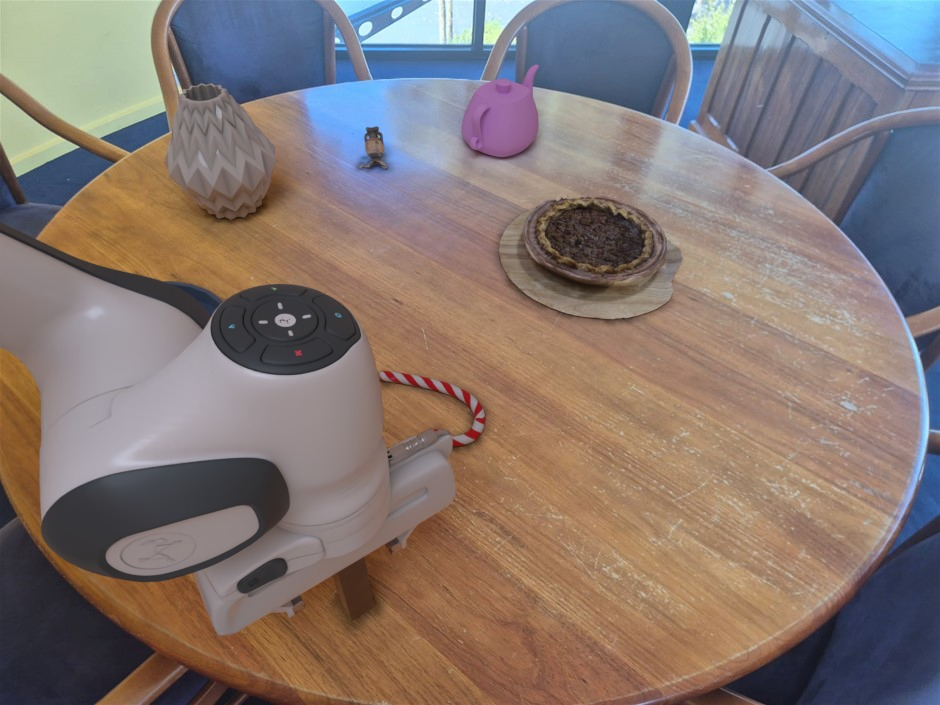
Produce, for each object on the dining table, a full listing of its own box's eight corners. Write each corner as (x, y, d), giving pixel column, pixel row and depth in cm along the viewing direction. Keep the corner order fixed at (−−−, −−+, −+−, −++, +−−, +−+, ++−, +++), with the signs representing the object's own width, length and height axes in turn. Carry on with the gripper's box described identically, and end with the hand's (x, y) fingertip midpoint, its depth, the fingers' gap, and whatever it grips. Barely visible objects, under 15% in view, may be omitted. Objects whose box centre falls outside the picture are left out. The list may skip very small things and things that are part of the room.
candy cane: (395, 353, 78) (499, 404, 73) (395, 360, 79) (498, 411, 74) (356, 394, 73) (464, 452, 68) (357, 401, 74) (464, 458, 69)
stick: (351, 621, 57) (332, 553, 46) (339, 599, 58) (318, 529, 48) (374, 606, 58) (360, 536, 47) (362, 585, 59) (346, 513, 49)
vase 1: (222, 170, 107) (190, 60, 94) (305, 191, 104) (284, 80, 90) (158, 220, 97) (113, 105, 83) (248, 246, 93) (216, 130, 80)
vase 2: (363, 153, 113) (360, 121, 109) (392, 154, 113) (390, 123, 109) (358, 168, 109) (354, 137, 105) (388, 170, 109) (386, 138, 105)
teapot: (502, 175, 110) (507, 110, 101) (442, 150, 115) (442, 87, 106) (559, 132, 121) (568, 71, 112) (502, 111, 126) (507, 51, 117)
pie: (649, 345, 82) (659, 318, 78) (466, 279, 90) (468, 251, 86) (698, 235, 99) (708, 208, 96) (541, 187, 107) (544, 161, 104)
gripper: (429, 393, 48) (430, 487, 58) (159, 527, 40) (215, 610, 50) (476, 450, 45) (468, 539, 55) (192, 610, 36) (244, 681, 46)
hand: (346, 574), depth 52 cm, fingers open, 8 cm apart
